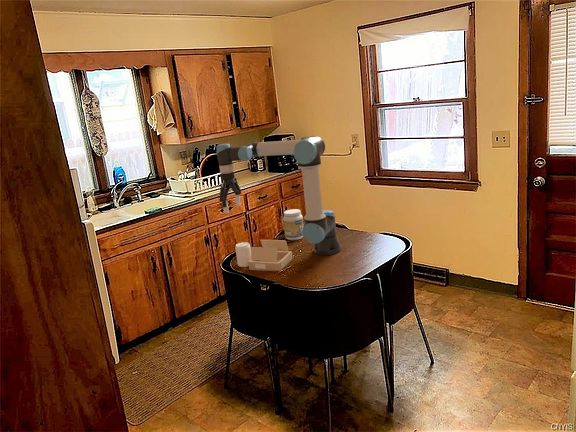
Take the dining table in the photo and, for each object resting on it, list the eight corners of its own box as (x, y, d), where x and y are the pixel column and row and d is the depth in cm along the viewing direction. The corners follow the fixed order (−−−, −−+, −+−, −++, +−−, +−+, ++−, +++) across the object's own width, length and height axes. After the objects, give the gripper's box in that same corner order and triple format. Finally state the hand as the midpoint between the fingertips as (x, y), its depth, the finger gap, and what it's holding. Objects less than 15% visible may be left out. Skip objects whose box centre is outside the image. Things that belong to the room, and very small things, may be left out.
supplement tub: (301, 240, 282) (298, 214, 277) (282, 240, 286) (279, 214, 282) (307, 234, 292) (304, 208, 288) (289, 234, 297) (286, 208, 292)
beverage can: (250, 267, 249) (247, 246, 245) (236, 268, 250) (233, 247, 247) (254, 261, 256) (251, 241, 253) (240, 262, 258) (237, 242, 255)
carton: (293, 259, 253) (292, 251, 252) (280, 271, 238) (279, 263, 237) (262, 257, 261) (261, 250, 260) (248, 269, 246) (247, 261, 245)
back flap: (260, 240, 254) (260, 239, 254) (263, 249, 258) (264, 249, 258) (285, 240, 248) (285, 240, 248) (288, 250, 252) (288, 249, 252)
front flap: (277, 247, 239) (276, 247, 238) (276, 261, 238) (276, 261, 238) (251, 246, 245) (251, 246, 245) (251, 259, 245) (250, 259, 244)
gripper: (232, 167, 268) (237, 203, 274) (209, 177, 246) (215, 215, 252) (243, 167, 265) (248, 203, 271) (221, 176, 243) (227, 215, 249)
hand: (232, 209), depth 261 cm, fingers open, 13 cm apart
